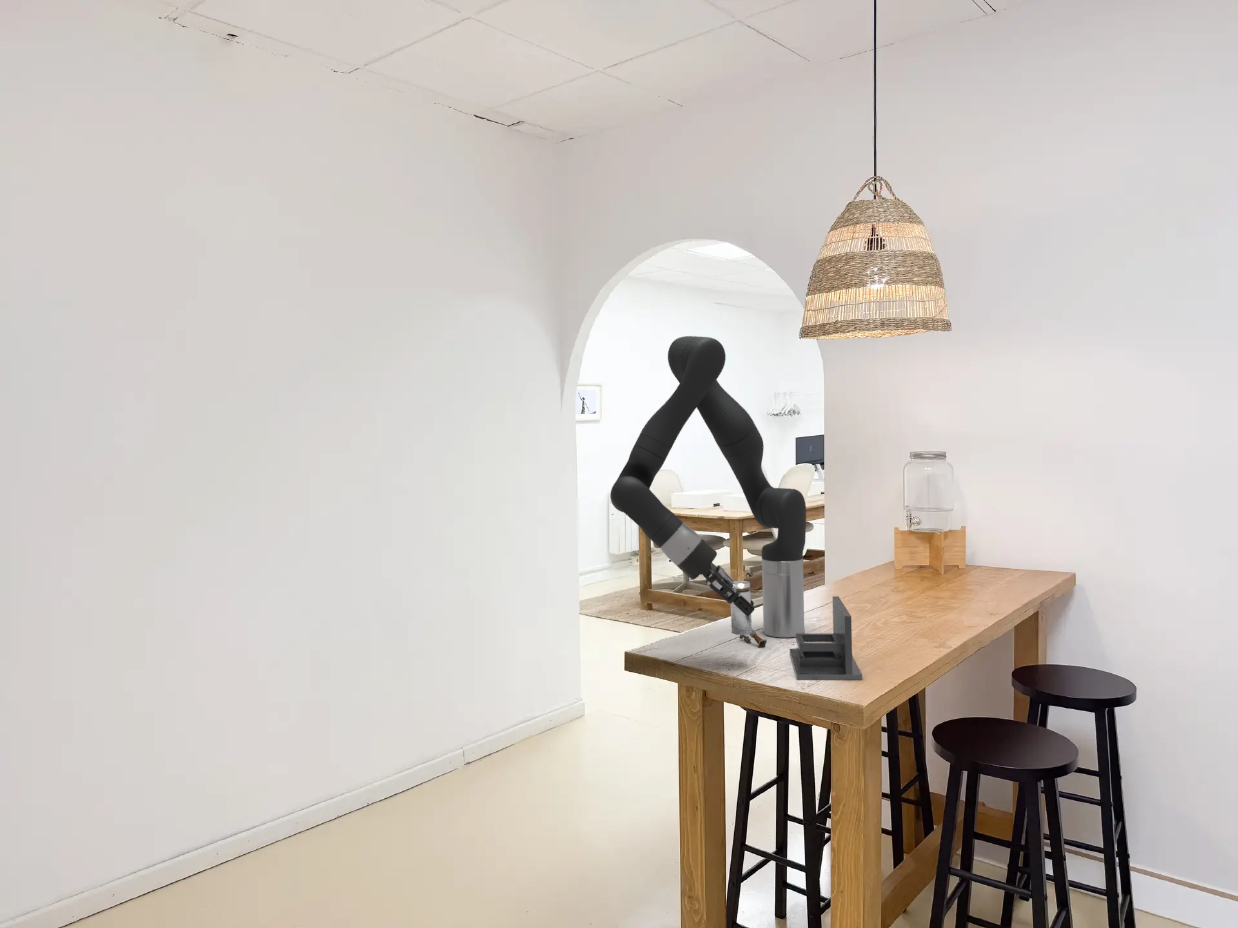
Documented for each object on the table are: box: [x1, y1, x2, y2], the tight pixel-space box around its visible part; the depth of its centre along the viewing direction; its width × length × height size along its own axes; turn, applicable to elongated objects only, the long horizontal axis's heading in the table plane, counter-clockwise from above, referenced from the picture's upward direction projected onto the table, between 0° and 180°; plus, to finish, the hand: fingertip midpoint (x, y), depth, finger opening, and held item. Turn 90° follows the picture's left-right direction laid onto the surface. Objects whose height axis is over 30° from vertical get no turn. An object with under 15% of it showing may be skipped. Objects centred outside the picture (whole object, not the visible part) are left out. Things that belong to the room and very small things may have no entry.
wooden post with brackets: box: [739, 628, 768, 649], centre depth 188 cm, size 2×8×4 cm, turn 29°
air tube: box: [730, 580, 753, 636], centre depth 171 cm, size 4×4×10 cm
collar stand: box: [789, 595, 863, 681], centre depth 169 cm, size 18×12×12 cm, turn 173°
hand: (750, 609), depth 171 cm, fingers closed on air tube, 4 cm apart
